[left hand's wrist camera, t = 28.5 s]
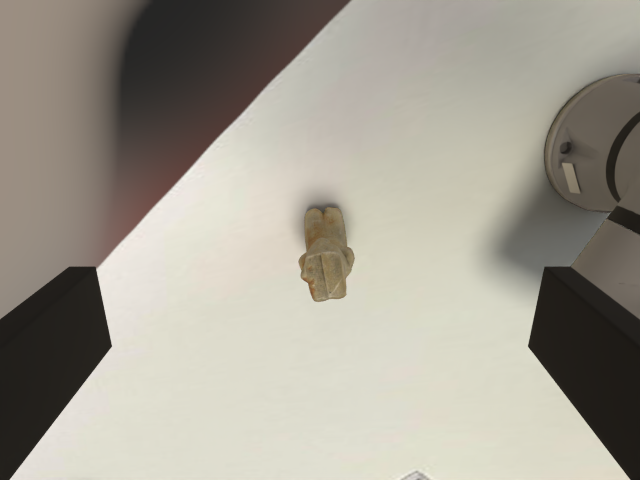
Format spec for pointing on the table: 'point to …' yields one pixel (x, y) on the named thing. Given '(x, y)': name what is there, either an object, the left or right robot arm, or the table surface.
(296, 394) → the table surface
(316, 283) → the sculpture
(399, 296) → the table surface
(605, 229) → the left robot arm
